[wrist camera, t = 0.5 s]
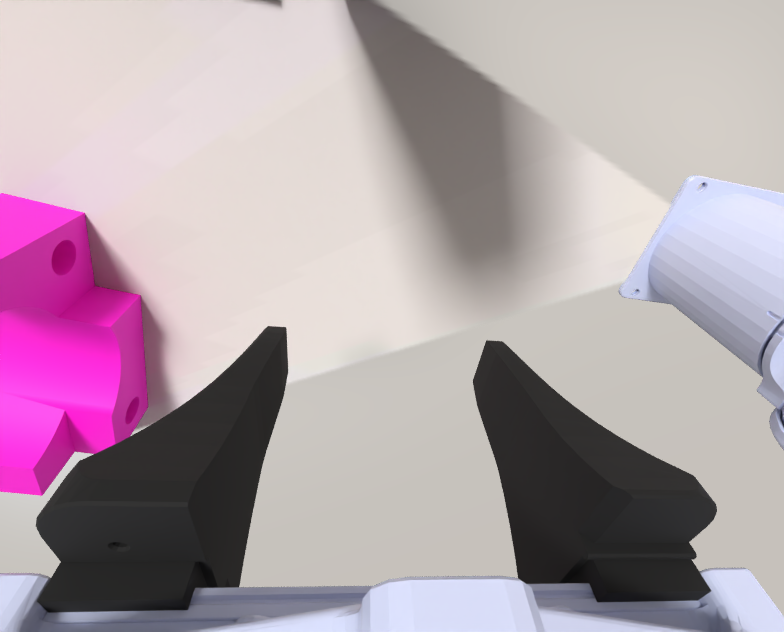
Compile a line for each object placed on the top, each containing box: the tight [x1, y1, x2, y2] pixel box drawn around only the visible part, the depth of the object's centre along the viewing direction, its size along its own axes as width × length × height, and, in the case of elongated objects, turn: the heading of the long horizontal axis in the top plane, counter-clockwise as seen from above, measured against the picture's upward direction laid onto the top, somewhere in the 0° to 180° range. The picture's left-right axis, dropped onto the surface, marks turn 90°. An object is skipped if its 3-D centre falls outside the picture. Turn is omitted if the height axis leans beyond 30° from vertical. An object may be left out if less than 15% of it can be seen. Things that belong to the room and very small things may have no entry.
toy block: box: [0, 193, 148, 496], centre depth 21 cm, size 15×6×8 cm, turn 163°
